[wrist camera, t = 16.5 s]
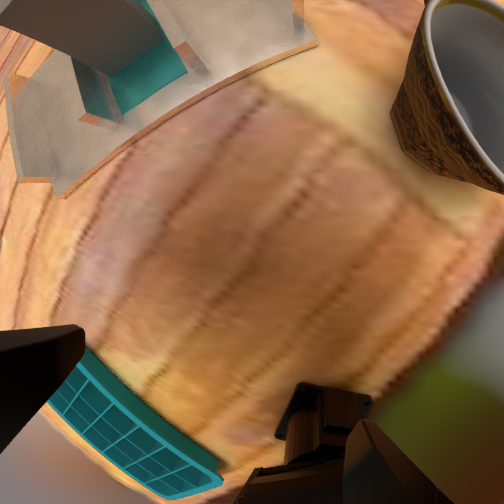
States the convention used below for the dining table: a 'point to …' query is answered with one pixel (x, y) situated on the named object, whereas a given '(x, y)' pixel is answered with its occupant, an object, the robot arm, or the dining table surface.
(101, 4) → the tall gray rectangular box
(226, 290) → the dining table surface
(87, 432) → the ice cube tray
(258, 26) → the tray
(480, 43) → the ceramic cup
